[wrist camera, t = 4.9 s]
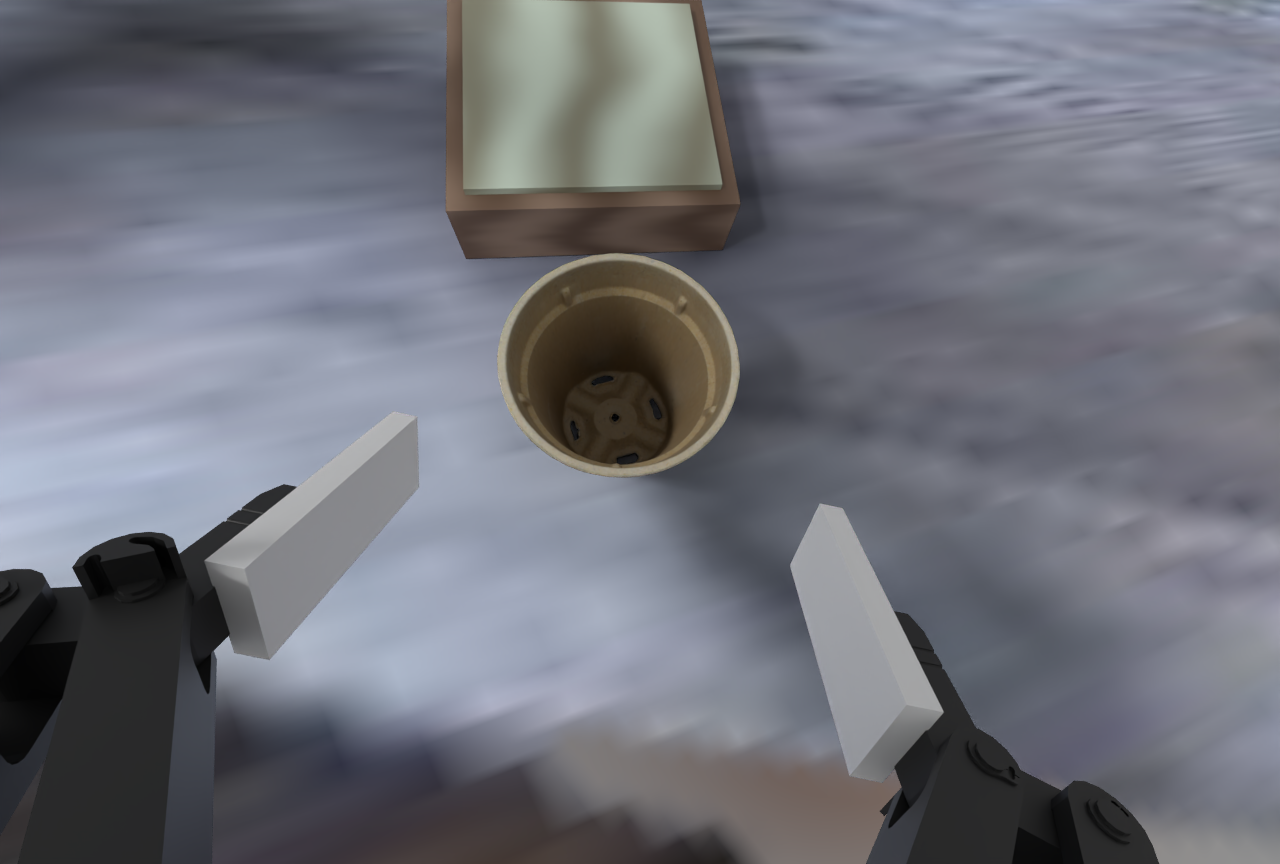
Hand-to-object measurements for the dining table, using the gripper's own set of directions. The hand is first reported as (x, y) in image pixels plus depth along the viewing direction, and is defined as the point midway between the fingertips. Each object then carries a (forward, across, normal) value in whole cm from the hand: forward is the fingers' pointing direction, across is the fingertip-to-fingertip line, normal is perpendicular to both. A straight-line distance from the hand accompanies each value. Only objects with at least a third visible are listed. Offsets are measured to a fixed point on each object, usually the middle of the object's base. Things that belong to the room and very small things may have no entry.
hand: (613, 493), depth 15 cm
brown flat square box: (+24, -6, +10) cm, 26 cm away
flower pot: (+11, -1, -3) cm, 12 cm away
